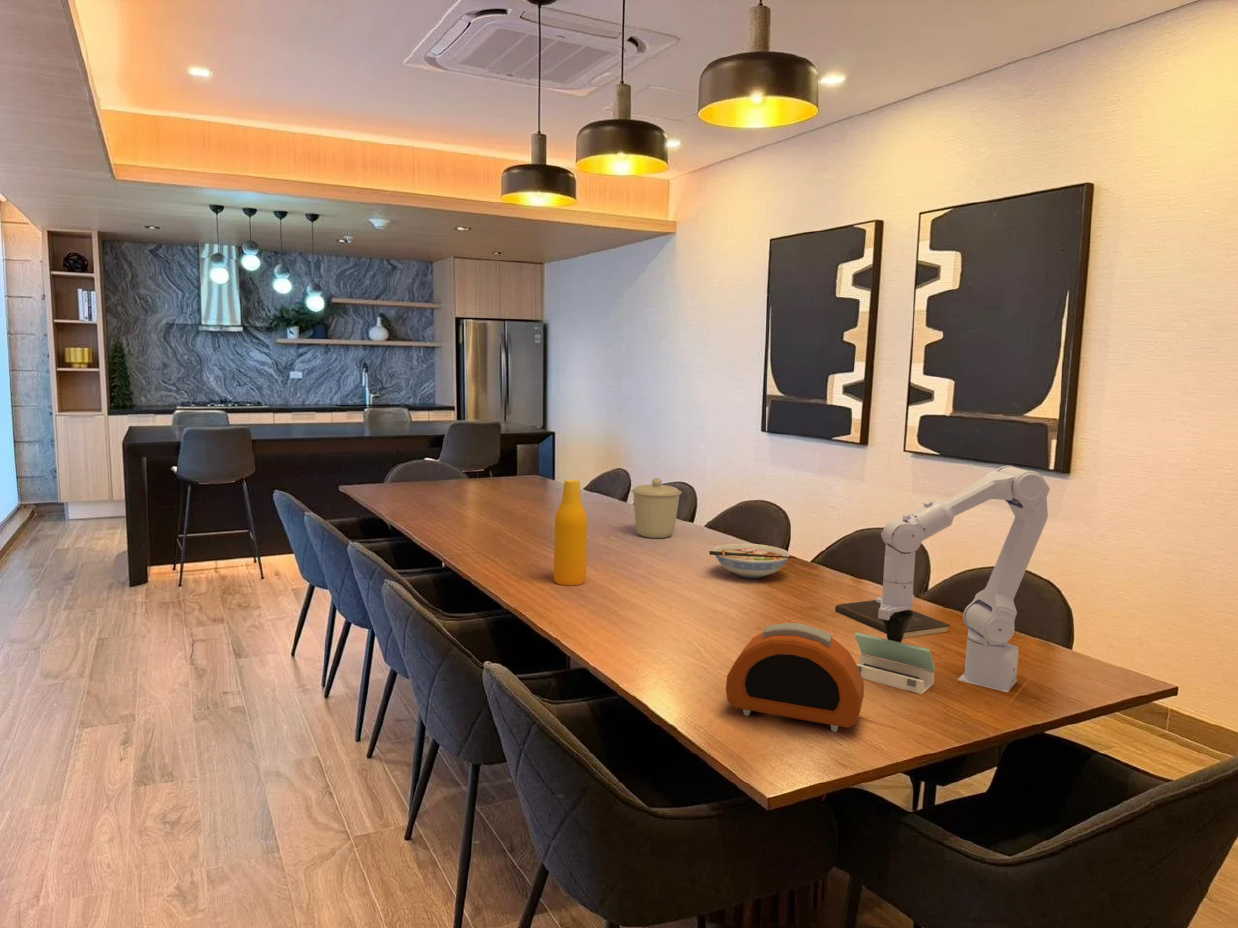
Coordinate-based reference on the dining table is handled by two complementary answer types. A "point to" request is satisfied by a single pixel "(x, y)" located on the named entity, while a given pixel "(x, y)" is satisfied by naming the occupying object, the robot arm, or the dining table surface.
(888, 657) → the panel
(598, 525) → the dining table surface
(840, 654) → the alarm clock
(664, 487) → the canister
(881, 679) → the cream piece
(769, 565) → the ramen bowl
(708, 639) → the dining table surface
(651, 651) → the dining table surface
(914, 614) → the hardcover book
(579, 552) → the beer bottle
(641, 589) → the dining table surface
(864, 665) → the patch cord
